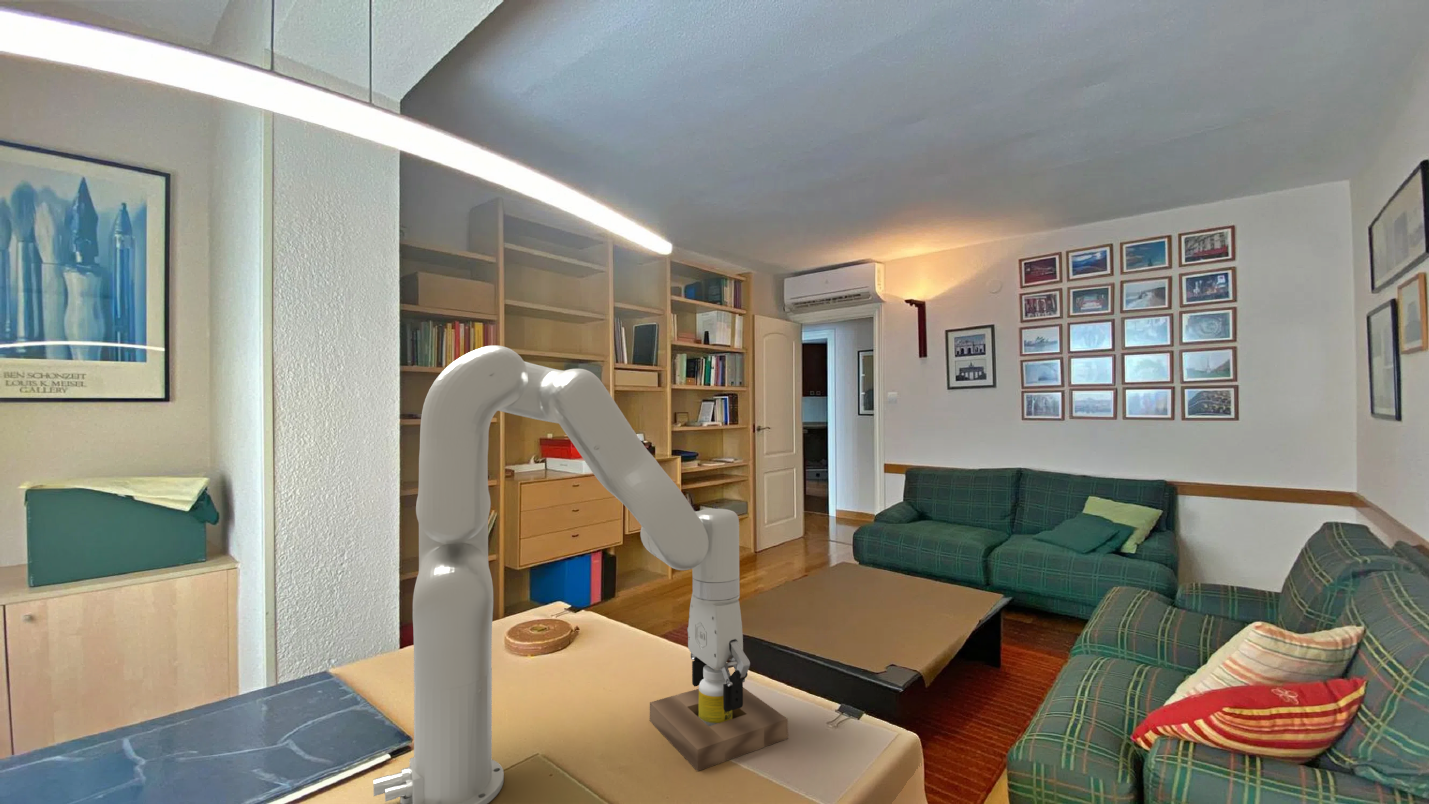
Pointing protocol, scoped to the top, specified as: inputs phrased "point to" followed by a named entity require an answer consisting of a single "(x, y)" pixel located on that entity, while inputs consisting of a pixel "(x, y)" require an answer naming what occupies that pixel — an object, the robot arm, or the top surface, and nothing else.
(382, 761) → the top surface
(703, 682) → the supplement bottle
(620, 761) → the top surface
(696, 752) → the socket block
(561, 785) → the top surface
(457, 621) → the robot arm
